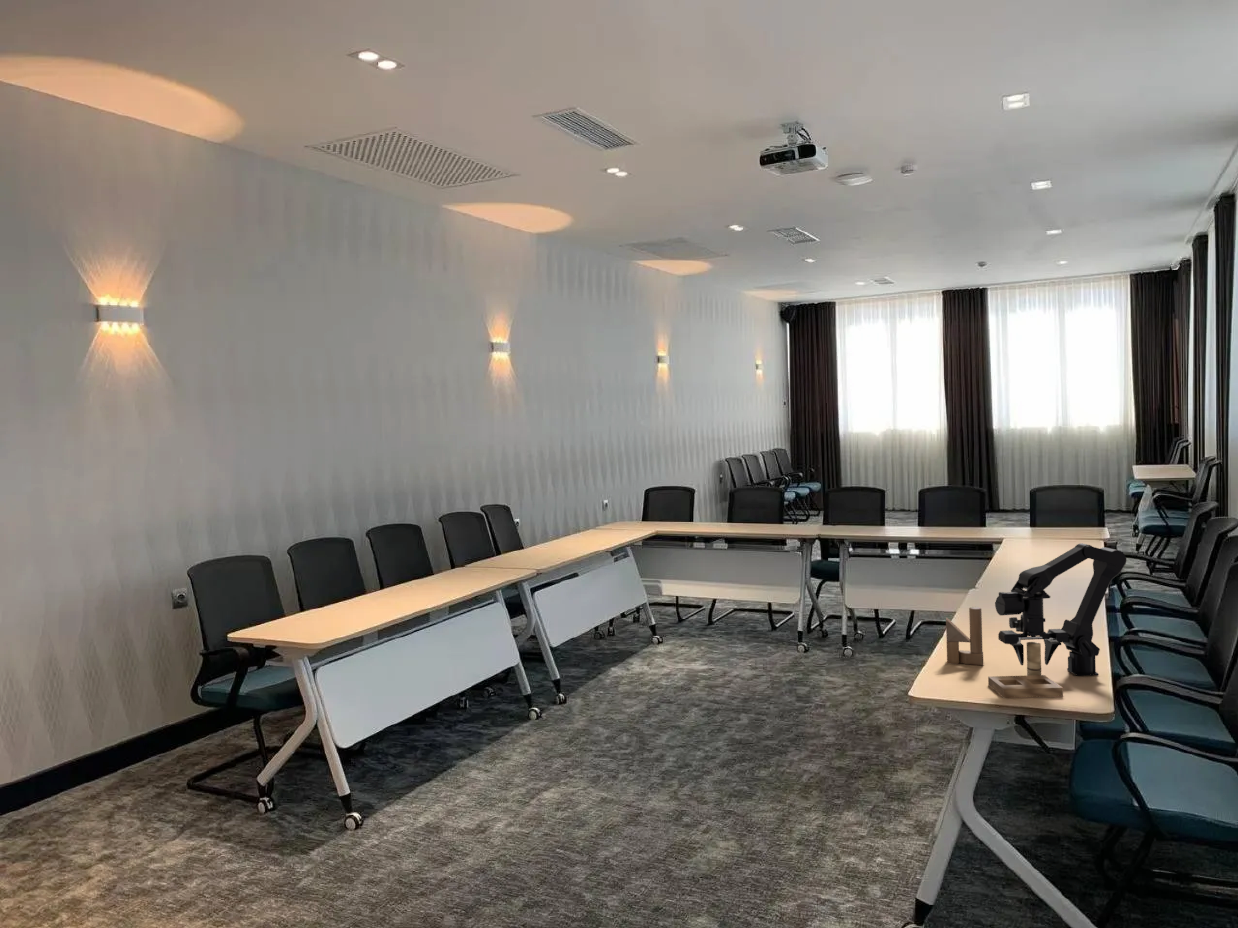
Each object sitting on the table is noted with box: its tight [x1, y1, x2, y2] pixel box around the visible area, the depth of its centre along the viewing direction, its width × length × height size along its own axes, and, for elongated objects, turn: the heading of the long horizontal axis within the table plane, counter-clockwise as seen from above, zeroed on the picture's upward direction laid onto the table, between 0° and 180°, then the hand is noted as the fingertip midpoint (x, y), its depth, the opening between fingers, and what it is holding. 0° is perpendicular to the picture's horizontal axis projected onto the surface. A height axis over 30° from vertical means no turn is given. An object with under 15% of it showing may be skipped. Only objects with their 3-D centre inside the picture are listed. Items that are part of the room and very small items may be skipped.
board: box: [987, 674, 1064, 699], centre depth 248 cm, size 16×12×2 cm
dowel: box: [1026, 641, 1042, 675], centre depth 260 cm, size 4×4×10 cm
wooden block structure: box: [945, 606, 984, 666], centre depth 277 cm, size 4×11×18 cm, turn 68°
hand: (1034, 664), depth 260 cm, fingers open, 7 cm apart
